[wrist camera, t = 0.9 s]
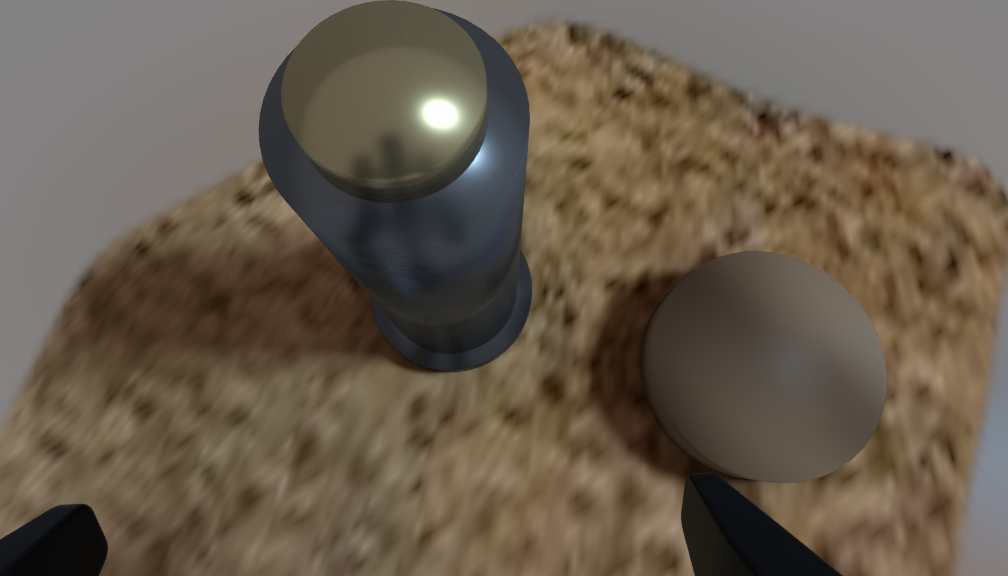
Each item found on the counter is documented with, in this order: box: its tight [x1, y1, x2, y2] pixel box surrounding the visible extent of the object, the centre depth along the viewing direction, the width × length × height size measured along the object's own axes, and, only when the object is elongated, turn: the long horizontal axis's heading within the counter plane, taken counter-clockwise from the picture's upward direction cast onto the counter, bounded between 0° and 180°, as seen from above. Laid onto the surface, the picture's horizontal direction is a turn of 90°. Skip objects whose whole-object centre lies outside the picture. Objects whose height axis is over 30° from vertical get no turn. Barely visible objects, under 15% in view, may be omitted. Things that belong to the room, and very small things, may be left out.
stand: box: [640, 251, 887, 483], centre depth 22 cm, size 8×8×2 cm
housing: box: [259, 0, 532, 372], centre depth 17 cm, size 6×6×14 cm
